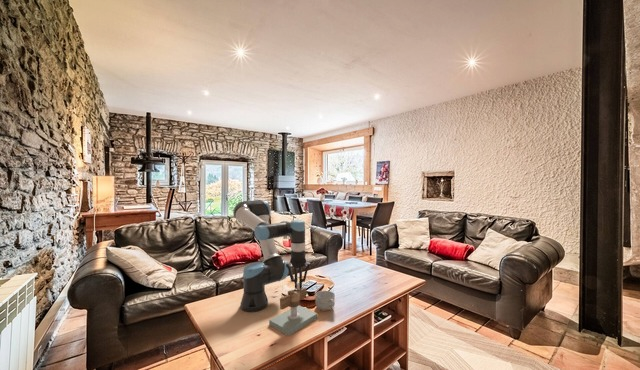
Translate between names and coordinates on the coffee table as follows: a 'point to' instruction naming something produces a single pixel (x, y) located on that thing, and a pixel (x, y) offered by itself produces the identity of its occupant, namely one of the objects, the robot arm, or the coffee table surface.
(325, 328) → the coffee table surface
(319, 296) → the teacup
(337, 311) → the coffee table surface
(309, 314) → the grey-green base
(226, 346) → the coffee table surface
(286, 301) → the knob
